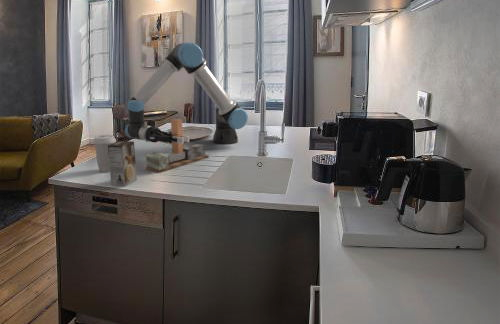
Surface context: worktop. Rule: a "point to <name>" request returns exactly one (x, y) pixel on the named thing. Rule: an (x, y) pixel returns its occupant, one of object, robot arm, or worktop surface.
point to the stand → (161, 161)
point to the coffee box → (122, 163)
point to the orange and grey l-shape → (177, 147)
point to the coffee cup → (103, 151)
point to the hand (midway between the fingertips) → (185, 140)
